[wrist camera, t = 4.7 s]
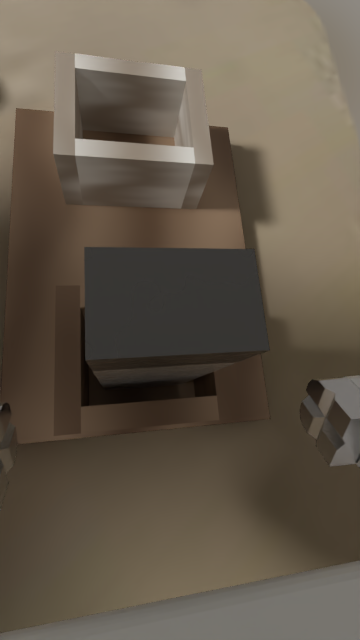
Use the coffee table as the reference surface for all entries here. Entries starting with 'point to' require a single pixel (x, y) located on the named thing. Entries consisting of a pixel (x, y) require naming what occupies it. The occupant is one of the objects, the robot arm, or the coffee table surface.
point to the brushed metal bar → (170, 313)
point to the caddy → (112, 242)
